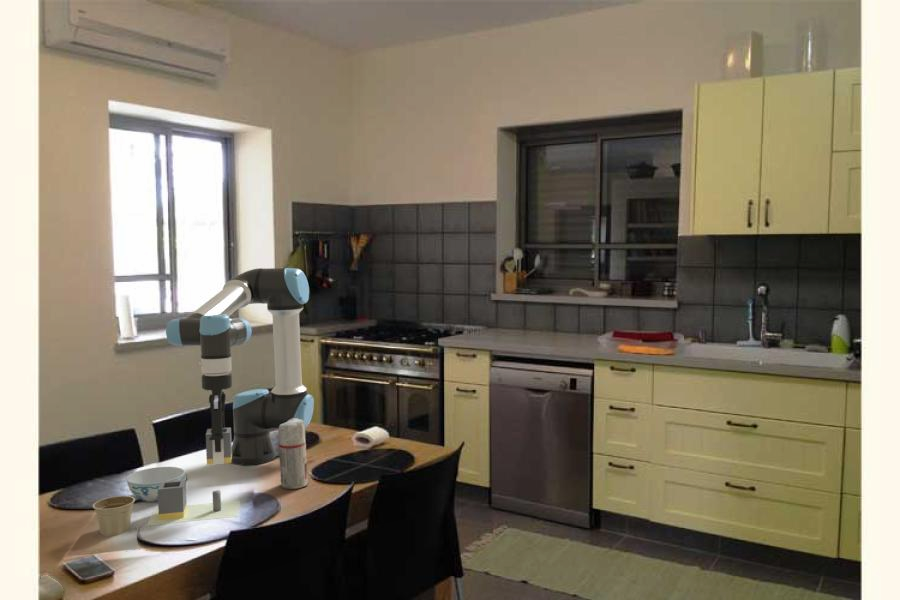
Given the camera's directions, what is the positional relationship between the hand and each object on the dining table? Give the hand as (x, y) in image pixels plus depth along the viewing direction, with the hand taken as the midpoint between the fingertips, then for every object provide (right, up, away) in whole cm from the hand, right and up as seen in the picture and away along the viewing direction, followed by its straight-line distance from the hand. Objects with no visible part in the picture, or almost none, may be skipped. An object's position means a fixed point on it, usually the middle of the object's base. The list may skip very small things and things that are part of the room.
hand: (219, 459), depth 183 cm
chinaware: (-22, -15, +12) cm, 29 cm away
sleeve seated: (-11, -14, -2) cm, 18 cm away
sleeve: (0, 0, 0) cm, 0 cm away
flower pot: (-22, -17, -12) cm, 30 cm away
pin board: (-6, -15, -1) cm, 16 cm away
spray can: (+14, -14, +24) cm, 31 cm away
